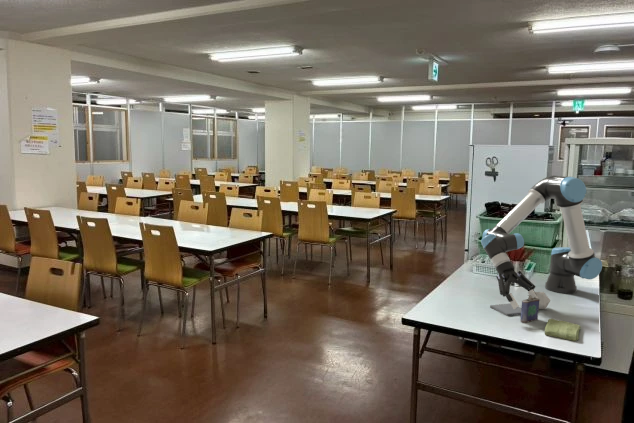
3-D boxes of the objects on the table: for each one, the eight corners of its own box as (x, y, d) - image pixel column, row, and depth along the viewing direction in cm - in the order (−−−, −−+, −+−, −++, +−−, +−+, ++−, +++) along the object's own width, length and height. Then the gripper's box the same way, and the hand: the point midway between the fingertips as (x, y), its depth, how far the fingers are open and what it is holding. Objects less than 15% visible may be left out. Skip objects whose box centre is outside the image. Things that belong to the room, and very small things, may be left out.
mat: (511, 305, 226) (511, 303, 226) (528, 313, 215) (528, 311, 215) (490, 307, 223) (490, 305, 223) (506, 316, 211) (507, 314, 211)
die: (547, 314, 216) (556, 296, 218) (530, 304, 217) (539, 286, 219) (538, 314, 224) (547, 297, 226) (522, 304, 225) (531, 287, 227)
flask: (523, 323, 203) (525, 297, 201) (517, 321, 206) (519, 295, 204) (539, 319, 207) (541, 294, 206) (533, 317, 210) (535, 292, 208)
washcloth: (581, 329, 198) (581, 322, 198) (578, 343, 183) (578, 335, 183) (547, 322, 205) (547, 315, 205) (541, 336, 190) (542, 328, 190)
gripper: (516, 266, 225) (541, 305, 214) (478, 271, 214) (501, 313, 203) (526, 258, 220) (552, 298, 208) (488, 262, 209) (512, 305, 197)
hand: (527, 305), depth 206 cm, fingers open, 13 cm apart
